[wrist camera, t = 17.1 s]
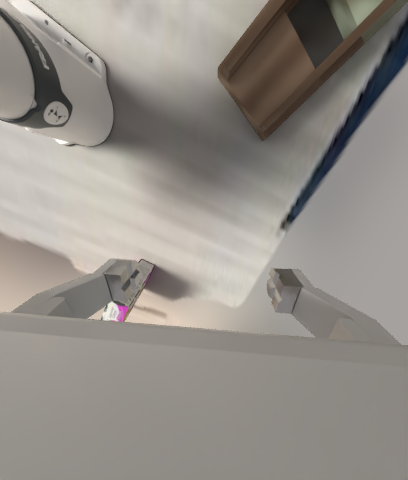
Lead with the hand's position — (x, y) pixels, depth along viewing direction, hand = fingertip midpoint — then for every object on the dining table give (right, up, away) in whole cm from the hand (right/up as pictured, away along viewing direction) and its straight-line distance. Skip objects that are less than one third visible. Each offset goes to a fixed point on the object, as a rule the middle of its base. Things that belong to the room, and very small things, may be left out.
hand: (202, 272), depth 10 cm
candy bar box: (-19, -9, +40) cm, 46 cm away
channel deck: (+16, +35, +17) cm, 42 cm away
